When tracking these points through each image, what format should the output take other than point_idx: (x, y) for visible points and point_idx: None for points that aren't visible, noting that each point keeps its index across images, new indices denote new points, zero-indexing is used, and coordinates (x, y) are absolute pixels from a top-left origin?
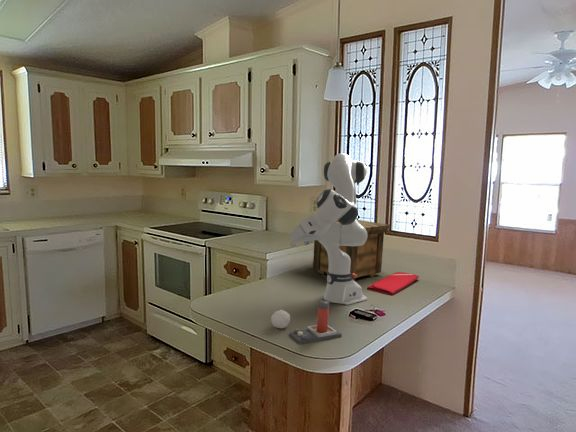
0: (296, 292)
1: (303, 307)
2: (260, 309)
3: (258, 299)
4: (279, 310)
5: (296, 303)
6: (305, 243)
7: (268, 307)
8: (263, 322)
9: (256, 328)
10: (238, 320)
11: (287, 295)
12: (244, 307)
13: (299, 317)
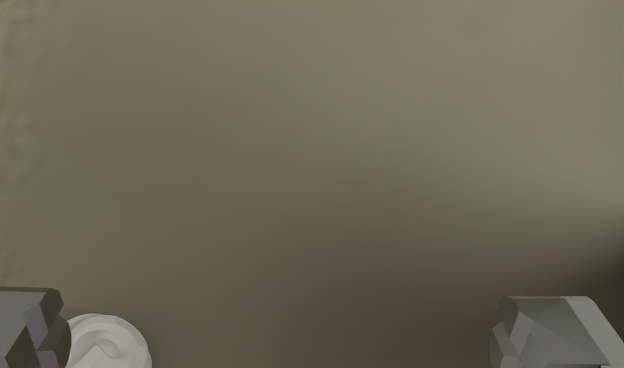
0: (591, 65)
1: (435, 253)
2: (236, 118)
3: (338, 11)
4: (70, 364)
5: (453, 184)
6: (510, 349)
7: (288, 125)
8: (109, 253)
9: (25, 284)
10: (47, 151)
11: (510, 66)
12: (199, 47)
13: (299, 339)
